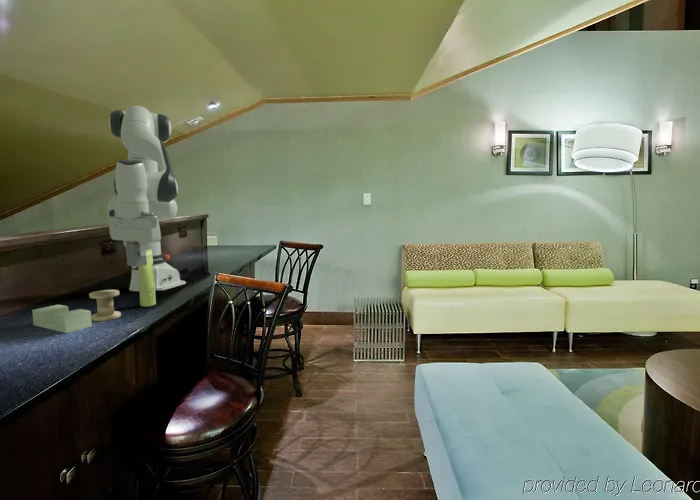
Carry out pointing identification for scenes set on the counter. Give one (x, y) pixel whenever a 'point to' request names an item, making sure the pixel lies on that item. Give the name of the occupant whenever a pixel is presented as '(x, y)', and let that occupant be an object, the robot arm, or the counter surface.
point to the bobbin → (105, 305)
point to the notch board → (62, 318)
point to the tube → (147, 281)
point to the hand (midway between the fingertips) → (136, 255)
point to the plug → (134, 255)
